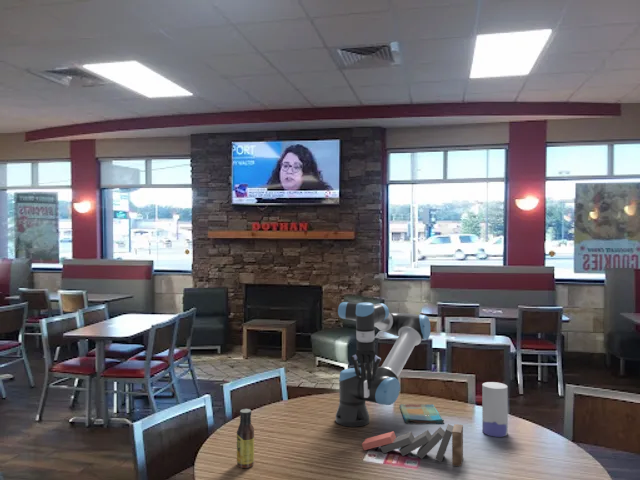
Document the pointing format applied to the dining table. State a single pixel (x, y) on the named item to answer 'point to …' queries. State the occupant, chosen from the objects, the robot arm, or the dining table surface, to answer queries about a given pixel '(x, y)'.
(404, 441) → the domino
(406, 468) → the dining table surface
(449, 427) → the domino
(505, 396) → the container
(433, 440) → the domino
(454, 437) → the end stop
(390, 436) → the red domino
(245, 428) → the sauce bottle
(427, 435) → the domino
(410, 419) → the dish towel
